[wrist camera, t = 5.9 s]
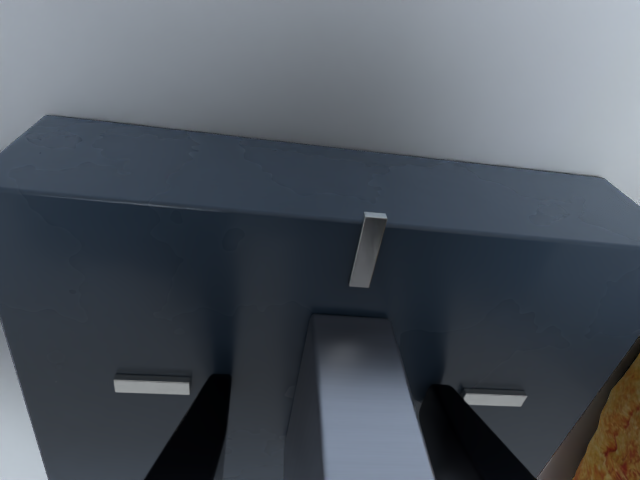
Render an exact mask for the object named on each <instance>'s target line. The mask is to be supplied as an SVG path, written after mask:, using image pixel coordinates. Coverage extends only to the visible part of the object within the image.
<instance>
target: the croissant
mask: <svg viewBox="0 0 640 480" xmlns="http://www.w3.org/2000/svg"><path fill="white" fill-rule="evenodd" d="M572 480H640V353H639V355H638V356H637V358H636V359H635V361H634V362H633V363H632V365H631V366H630V367H629V369H628V370H627V371H626V373H625V374H624V376H623V377H622V378H621V379H620V380H619V382H618V383H617V384H616V385H615V386H614V387H613V388H612V390H611V392H610V395H609V397H608V400H607V402H606V404H605V406H604V408H603V410H602V412H601V415H600V420H599V424H598V428H597V430H596V432H595V433H594V435H593V437H592V439H591V440H590V442H589V444H588V446H587V451H586V454H585V455H584V457H583V458H582V460H581V462H580V464H579V466H578V468H577V470H576V474H575V476H574V477H573V479H572Z"/></svg>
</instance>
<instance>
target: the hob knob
mask: <svg viewBox="0 0 640 480" xmlns="http://www.w3.org/2000/svg"><path fill="white" fill-rule="evenodd" d="M284 480H436V479H435V475H434V472H433V468H432V465H431V461H430V457H429V454H428V450H427V447H426V443H425V440H424V436H423V433H422V429H421V426H420V422H419V418H418V415H417V411H416V408H415V404H414V401H413V397H412V394H411V390H410V387H409V383H408V379H407V376H406V372H405V369H404V365H403V362H402V358H401V355H400V351H399V348H398V344H397V340H396V337H395V333H394V330H393V326H392V323H391V321H390V320H389V319H387V318H372V317H358V316H343V315H329V314H312V316H311V318H310V321H309V326H308V331H307V336H306V341H305V346H304V351H303V356H302V361H301V366H300V371H299V376H298V381H297V386H296V391H295V396H294V401H293V406H292V411H291V416H290V421H289V426H288V431H287V436H286V441H285V446H284Z"/></svg>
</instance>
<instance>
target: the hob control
mask: <svg viewBox="0 0 640 480" xmlns="http://www.w3.org/2000/svg"><path fill="white" fill-rule="evenodd" d="M312 314H329V315H343V316H358V317H372V318H387V319H389V320H390V321H391V323H392V326H393V330H394V333H395V337H396V340H397V344H398V348H399V351H400V355H401V358H402V362H403V365H404V369H405V372H406V376H407V379H408V383H409V387H410V390H411V394H412V397H413V401H414V404H415V408H416V411H417V415H418V418H419V410H420V407H421V404H422V402H423V400H424V397H425V395H426V393H427V390H428V388H429V386H431V385H432V384H446V385H450V386H452V387H453V388H454V389H455V390H456V391H457V392H458V393H459V395H460V396H461V397H462V398H463V399H464V400H465V401H466V402H467V403H468V404H469V406H470V407H471V408H472V409H473V410H474V411H475V412H476V413H477V414H478V415H479V417H480V418H481V419H482V420H483V421H484V422H485V423H486V424H487V425H488V426H489V427H490V429H491V430H492V431H493V432H494V433H495V434H496V435H497V436H498V437H499V438H500V440H501V441H502V442H503V443H504V444H505V445H506V446H507V447H508V448H509V449H510V451H511V452H512V453H513V454H514V455H515V456H516V457H517V458H518V459H519V460H520V462H521V463H522V464H523V465H524V466H525V467H526V468H527V469H528V470H529V471H530V473H531V474H532V475H533V476H534V477H535V478H537V477H538V476H539V474H540V473H541V471H542V470H543V469H544V467H545V466H546V464H547V463H548V462H549V460H550V459H551V458H552V456H553V455H554V453H555V452H556V451H557V449H558V448H559V446H560V445H561V444H562V442H563V441H564V440H565V438H566V437H567V435H568V434H569V433H570V431H571V430H572V428H573V427H574V426H575V424H576V423H577V422H578V420H579V419H580V417H581V416H582V415H583V413H584V412H585V410H586V409H587V408H588V406H589V405H590V404H591V402H592V401H593V399H594V398H595V397H596V395H597V394H598V392H599V391H600V390H601V388H602V387H603V386H604V384H605V383H606V381H607V380H608V379H609V377H610V376H611V374H612V373H613V372H614V370H615V369H616V368H617V366H618V365H619V363H620V362H621V361H622V359H623V358H624V356H625V355H626V354H627V352H628V351H629V350H630V348H631V347H632V345H633V344H634V343H635V341H636V340H637V338H638V337H639V336H640V206H639V205H637V204H636V203H635V202H634V201H632V200H631V199H630V198H628V197H627V196H626V195H625V194H623V193H622V192H621V191H620V190H618V189H617V188H616V187H614V186H613V185H612V184H611V183H609V182H608V181H607V180H606V179H604V178H598V177H589V176H580V175H572V174H563V173H554V172H545V171H536V170H528V169H519V168H510V167H501V166H492V165H483V164H475V163H466V162H457V161H448V160H439V159H431V158H422V157H413V156H404V155H395V154H386V153H378V152H369V151H360V150H351V149H342V148H334V147H325V146H316V145H307V144H298V143H289V142H281V141H272V140H263V139H254V138H245V137H237V136H228V135H219V134H210V133H201V132H192V131H184V130H175V129H166V128H157V127H148V126H140V125H131V124H122V123H113V122H104V121H95V120H87V119H78V118H69V117H60V116H51V115H46V116H44V117H43V118H42V119H40V120H39V121H38V122H37V123H35V124H34V125H33V126H32V127H31V128H29V129H28V130H27V131H26V132H25V133H23V134H22V135H21V136H20V137H19V138H17V139H16V140H15V141H14V142H12V143H11V144H10V145H9V146H8V147H6V148H5V149H4V150H3V151H2V152H0V320H1V324H2V327H3V330H4V334H5V337H6V340H7V344H8V347H9V350H10V354H11V357H12V360H13V364H14V367H15V370H16V374H17V377H18V380H19V384H20V387H21V390H22V394H23V397H24V400H25V404H26V407H27V410H28V414H29V417H30V420H31V424H32V427H33V430H34V434H35V437H36V440H37V444H38V447H39V450H40V454H41V457H42V460H43V464H44V467H45V470H46V474H47V477H48V480H144V478H145V477H146V475H147V474H148V472H149V470H150V469H151V467H152V466H153V464H154V463H155V461H156V459H157V458H158V456H159V455H160V453H161V452H162V450H163V448H164V447H165V445H166V444H167V442H168V441H169V439H170V437H171V436H172V434H173V433H174V431H175V429H176V428H177V426H178V425H179V423H180V422H181V420H182V418H183V417H184V415H185V414H186V412H187V411H188V409H189V407H190V406H191V404H192V403H193V401H194V400H195V398H196V396H197V395H198V393H199V392H200V390H201V388H202V387H203V385H204V384H205V382H206V381H207V379H208V378H209V376H210V375H211V374H214V373H216V374H230V375H231V376H232V387H231V398H230V410H229V420H228V430H227V441H226V451H225V461H224V472H223V480H284V446H285V441H286V436H287V431H288V426H289V421H290V416H291V411H292V406H293V401H294V396H295V391H296V386H297V381H298V376H299V371H300V366H301V361H302V356H303V351H304V346H305V341H306V336H307V331H308V326H309V321H310V318H311V316H312Z"/></svg>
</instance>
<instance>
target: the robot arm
mask: <svg viewBox="0 0 640 480" xmlns="http://www.w3.org/2000/svg"><path fill="white" fill-rule="evenodd" d="M231 387H232V376H231V375H230V374H216V373H214V374H211V375H210V376H209V378H208V379H207V381H206V382H205V384H204V385H203V387H202V388H201V390H200V392H199V393H198V395H197V396H196V398H195V400H194V401H193V403H192V404H191V406H190V407H189V409H188V411H187V412H186V414H185V415H184V417H183V418H182V420H181V422H180V423H179V425H178V426H177V428H176V429H175V431H174V433H173V434H172V436H171V437H170V439H169V441H168V442H167V444H166V445H165V447H164V448H163V450H162V452H161V453H160V455H159V456H158V458H157V459H156V461H155V463H154V464H153V466H152V467H151V469H150V470H149V472H148V474H147V475H146V477H145V478H144V480H223V472H224V461H225V451H226V441H227V430H228V420H229V410H230V398H231ZM419 422H420V426H421V429H422V433H423V436H424V440H425V443H426V447H427V450H428V454H429V457H430V461H431V465H432V468H433V472H434V475H435V479H436V480H537V479H536V478H535V477H534V476H533V475H532V474H531V473H530V471H529V470H528V469H527V468H526V467H525V466H524V465H523V464H522V463H521V462H520V460H519V459H518V458H517V457H516V456H515V455H514V454H513V453H512V452H511V451H510V449H509V448H508V447H507V446H506V445H505V444H504V443H503V442H502V441H501V440H500V438H499V437H498V436H497V435H496V434H495V433H494V432H493V431H492V430H491V429H490V427H489V426H488V425H487V424H486V423H485V422H484V421H483V420H482V419H481V418H480V417H479V415H478V414H477V413H476V412H475V411H474V410H473V409H472V408H471V407H470V406H469V404H468V403H467V402H466V401H465V400H464V399H463V398H462V397H461V396H460V395H459V393H458V392H457V391H456V390H455V389H454V388H453V387H452V386H450V385H446V384H432V385H431V386H429V388H428V390H427V393H426V395H425V397H424V400H423V402H422V404H421V407H420V410H419Z"/></svg>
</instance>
